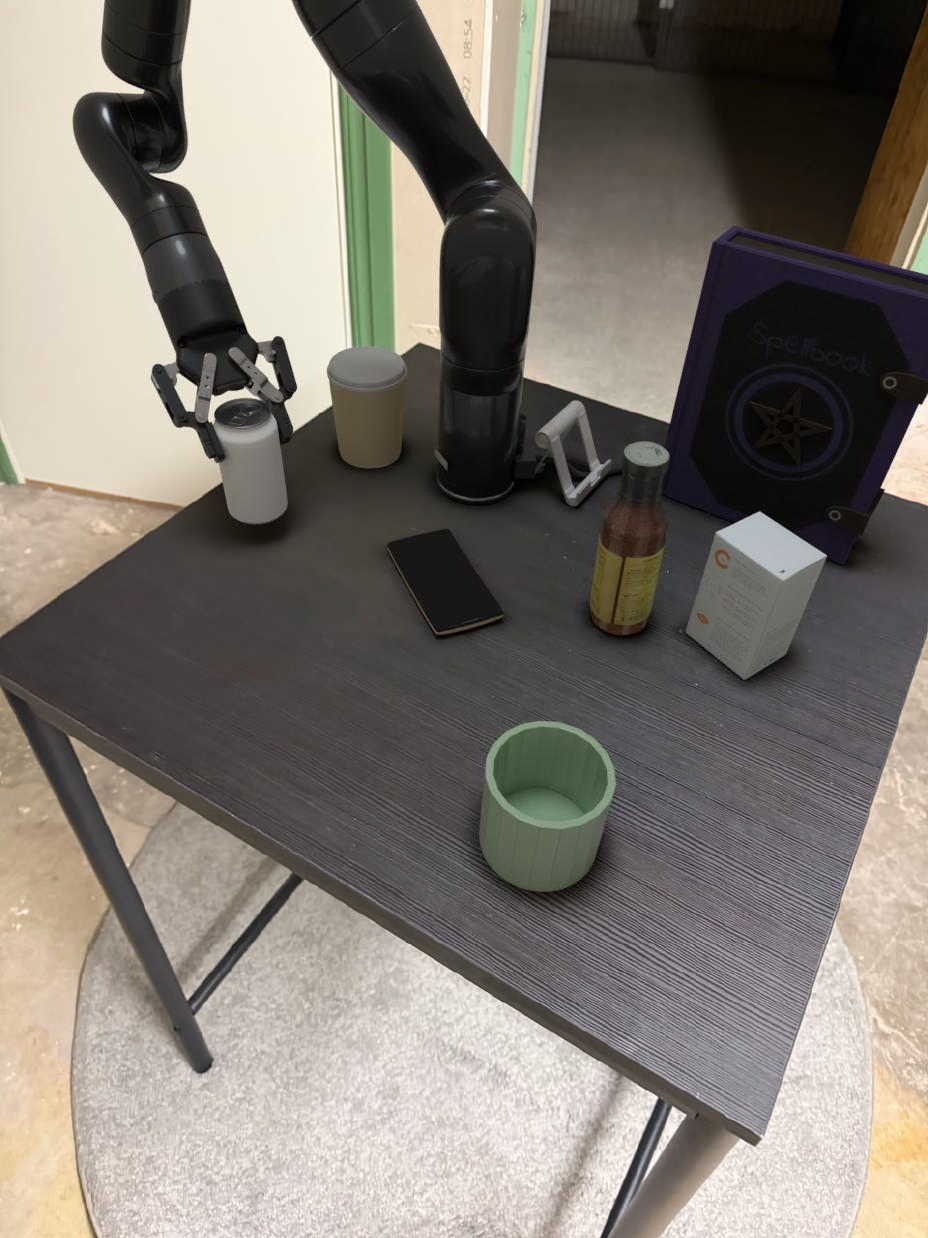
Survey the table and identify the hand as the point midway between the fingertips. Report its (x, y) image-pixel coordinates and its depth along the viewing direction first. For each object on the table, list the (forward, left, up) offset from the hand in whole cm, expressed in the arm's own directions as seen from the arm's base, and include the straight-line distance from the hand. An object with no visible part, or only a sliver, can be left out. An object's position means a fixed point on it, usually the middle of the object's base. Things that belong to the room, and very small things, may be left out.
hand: (254, 450), depth 88 cm
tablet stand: (-36, +7, -11) cm, 38 cm away
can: (0, -2, -9) cm, 9 cm away
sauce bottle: (-26, +29, -11) cm, 41 cm away
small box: (-34, +38, -11) cm, 53 cm away
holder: (-4, +46, -11) cm, 48 cm away
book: (-51, +24, -11) cm, 58 cm away
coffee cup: (-18, -10, -11) cm, 23 cm away
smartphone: (-13, +16, -11) cm, 24 cm away
